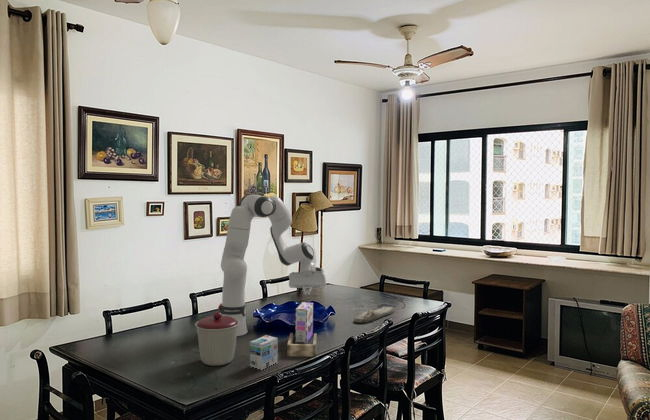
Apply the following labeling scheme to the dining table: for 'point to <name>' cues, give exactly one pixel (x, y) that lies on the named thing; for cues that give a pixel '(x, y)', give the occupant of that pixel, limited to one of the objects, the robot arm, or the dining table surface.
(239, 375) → the dining table surface
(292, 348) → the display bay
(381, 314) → the elongated rock
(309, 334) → the candy box
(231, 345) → the canister
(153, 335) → the dining table surface
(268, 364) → the light bulb box
